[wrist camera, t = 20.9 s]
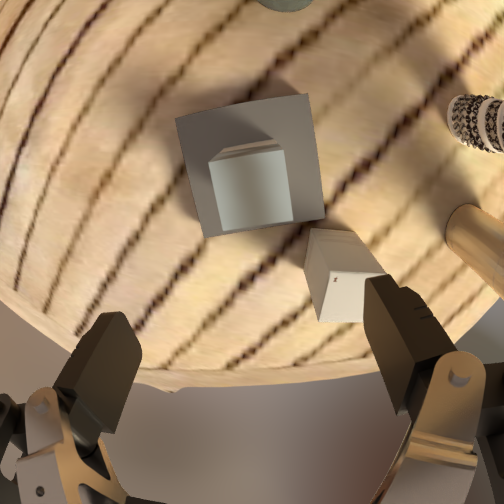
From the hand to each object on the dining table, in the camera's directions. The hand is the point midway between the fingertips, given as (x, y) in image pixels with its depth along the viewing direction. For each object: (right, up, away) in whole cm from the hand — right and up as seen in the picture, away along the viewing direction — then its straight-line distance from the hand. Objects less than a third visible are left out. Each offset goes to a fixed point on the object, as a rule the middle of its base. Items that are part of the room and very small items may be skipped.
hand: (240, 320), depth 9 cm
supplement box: (+12, +2, +34) cm, 37 cm away
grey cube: (0, +10, +20) cm, 22 cm away
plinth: (+1, +14, +29) cm, 32 cm away
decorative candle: (+34, +23, +24) cm, 48 cm away
